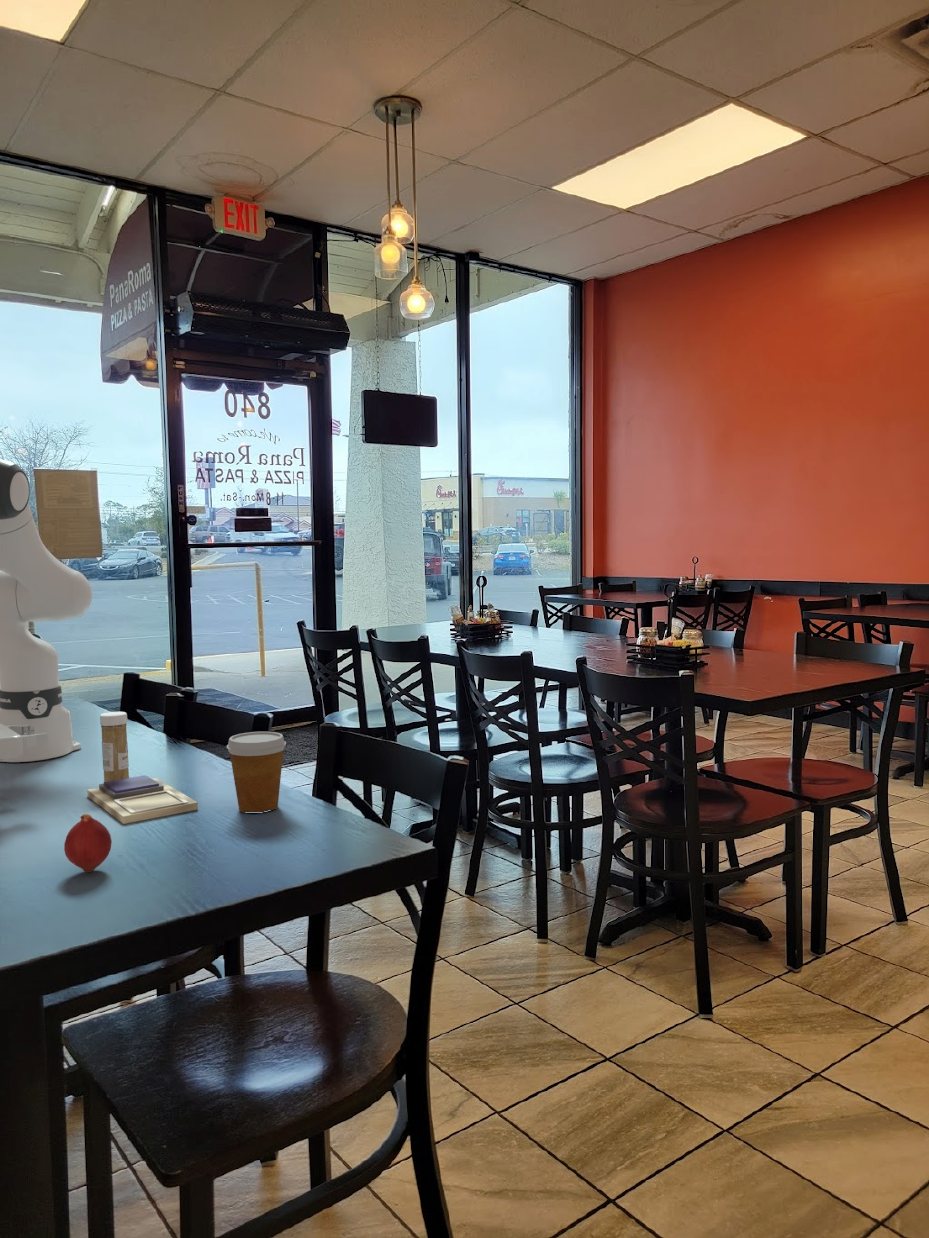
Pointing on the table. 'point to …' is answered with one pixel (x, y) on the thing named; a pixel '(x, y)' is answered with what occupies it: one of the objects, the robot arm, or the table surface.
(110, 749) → the sprinkles bottle
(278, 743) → the disposable coffee cup
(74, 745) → the robot arm
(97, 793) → the stamp station
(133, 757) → the table surface
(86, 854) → the onion
